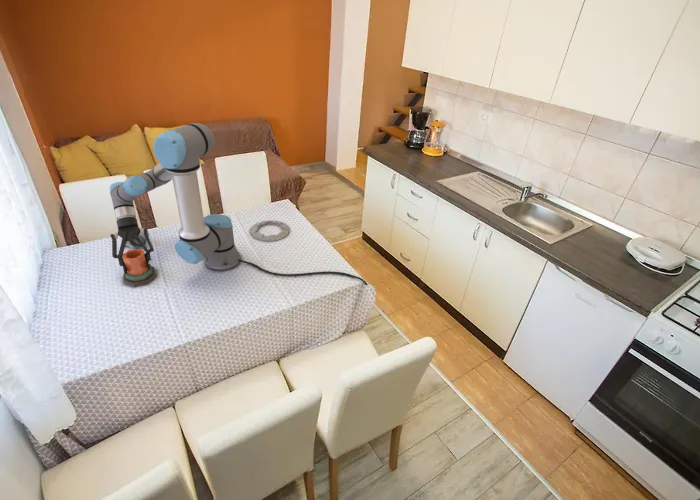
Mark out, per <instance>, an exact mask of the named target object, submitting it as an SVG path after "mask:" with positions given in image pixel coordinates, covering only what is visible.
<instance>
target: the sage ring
mask: <svg viewBox="0 0 700 500" xmlns="http://www.w3.org/2000/svg"><path fill="white" fill-rule="evenodd" d="M149 265H150V269H149V270H148V271H146V272H145V273H144V274H141V275H136V276H133V275H130V274H125V277H126V279H128V280H131V281H139V280H144V279H146V278H148V277H149V276H150V275H151V274H153V272H152V267H153V266H152V264H150V263H149ZM127 273H128V272H127Z"/></svg>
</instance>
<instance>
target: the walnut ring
mask: <svg viewBox="0 0 700 500" xmlns="http://www.w3.org/2000/svg"><path fill="white" fill-rule="evenodd" d="M152 272H153V274H151V275H150V276H149V277H148V278H146V279H144V280H139V281H131V280H128V279H126V277H125V273H124V272H123V282H124V284H125V285H128V286H131V287H134V288H135V287H140V286H144V285H149V284H150V283H152V281H154V280H155V279H156V278H157V271H156V268H155V266H152Z"/></svg>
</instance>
